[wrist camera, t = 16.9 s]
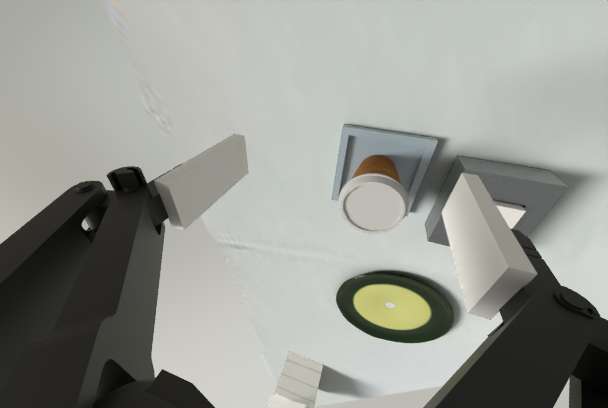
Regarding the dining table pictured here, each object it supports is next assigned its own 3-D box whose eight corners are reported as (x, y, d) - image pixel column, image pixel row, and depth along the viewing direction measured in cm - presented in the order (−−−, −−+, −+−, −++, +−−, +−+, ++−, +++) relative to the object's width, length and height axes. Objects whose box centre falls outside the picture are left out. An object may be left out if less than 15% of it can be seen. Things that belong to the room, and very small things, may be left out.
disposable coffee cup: (418, 174, 39) (425, 215, 29) (372, 202, 45) (367, 245, 35) (381, 133, 37) (376, 163, 28) (338, 168, 43) (323, 203, 33)
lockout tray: (344, 124, 38) (342, 126, 37) (436, 137, 35) (438, 141, 34) (333, 195, 47) (331, 199, 46) (407, 211, 44) (407, 216, 43)
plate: (428, 346, 65) (429, 355, 63) (332, 315, 72) (331, 323, 70) (474, 287, 49) (477, 297, 47) (344, 254, 56) (342, 261, 54)
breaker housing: (457, 155, 36) (468, 174, 31) (548, 170, 33) (577, 193, 28) (424, 225, 44) (428, 249, 39) (494, 241, 42) (509, 269, 36)
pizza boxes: (285, 374, 113) (269, 421, 99) (284, 347, 95) (265, 400, 81) (322, 389, 109) (312, 441, 95) (329, 364, 91) (317, 423, 77)
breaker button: (467, 183, 37) (477, 201, 33) (510, 191, 36) (526, 211, 31) (451, 212, 41) (458, 232, 36) (489, 220, 39) (501, 242, 35)
